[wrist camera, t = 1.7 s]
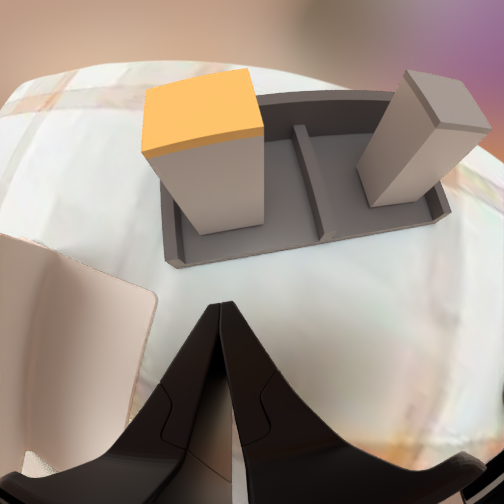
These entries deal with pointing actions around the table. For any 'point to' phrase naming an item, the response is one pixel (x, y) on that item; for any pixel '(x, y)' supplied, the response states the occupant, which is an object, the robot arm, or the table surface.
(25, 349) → the tablet stand
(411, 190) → the key plain
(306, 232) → the dark grey divided tray
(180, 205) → the key marked
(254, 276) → the table surface
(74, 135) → the table surface
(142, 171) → the table surface
